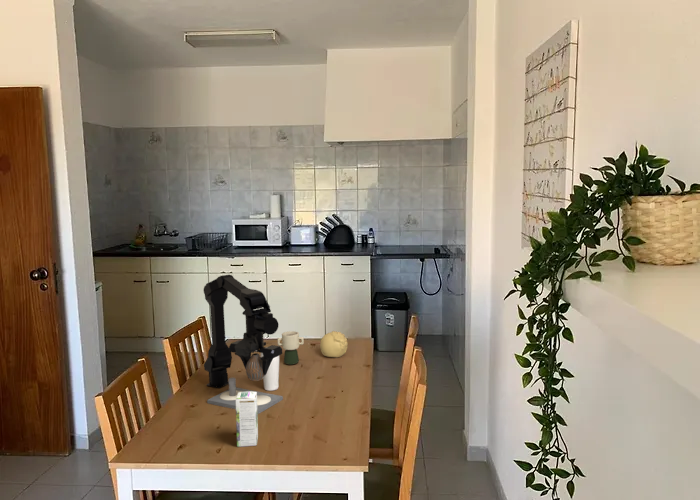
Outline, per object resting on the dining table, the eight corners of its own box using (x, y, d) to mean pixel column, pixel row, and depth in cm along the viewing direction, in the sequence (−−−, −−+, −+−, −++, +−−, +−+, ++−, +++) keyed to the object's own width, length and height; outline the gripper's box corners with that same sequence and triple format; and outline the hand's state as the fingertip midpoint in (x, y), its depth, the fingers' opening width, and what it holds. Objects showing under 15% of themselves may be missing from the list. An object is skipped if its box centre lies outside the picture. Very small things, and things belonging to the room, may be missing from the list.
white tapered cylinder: (277, 392, 208) (275, 352, 206) (259, 391, 209) (257, 351, 207) (283, 385, 214) (281, 347, 213) (265, 385, 216) (264, 346, 214)
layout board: (207, 403, 199) (206, 382, 198) (233, 390, 211) (232, 370, 210) (258, 414, 189) (257, 392, 188) (282, 399, 201) (282, 379, 200)
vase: (270, 376, 199) (269, 352, 198) (260, 383, 192) (259, 358, 191) (252, 374, 201) (251, 350, 200) (242, 381, 194) (241, 356, 193)
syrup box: (239, 438, 171) (236, 391, 169) (259, 437, 171) (256, 390, 170) (236, 447, 165) (234, 398, 164) (257, 446, 166) (255, 397, 164)
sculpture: (347, 359, 245) (347, 334, 244) (319, 359, 245) (318, 335, 244) (348, 351, 256) (347, 328, 255) (321, 352, 256) (320, 328, 255)
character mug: (304, 360, 245) (303, 330, 243) (304, 365, 238) (303, 334, 236) (278, 361, 244) (277, 331, 242) (278, 366, 237) (276, 336, 235)
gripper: (217, 331, 192) (219, 376, 194) (262, 338, 183) (264, 385, 185) (238, 324, 201) (240, 367, 203) (282, 329, 193) (284, 374, 195)
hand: (256, 373), depth 196 cm, fingers closed on vase, 7 cm apart
